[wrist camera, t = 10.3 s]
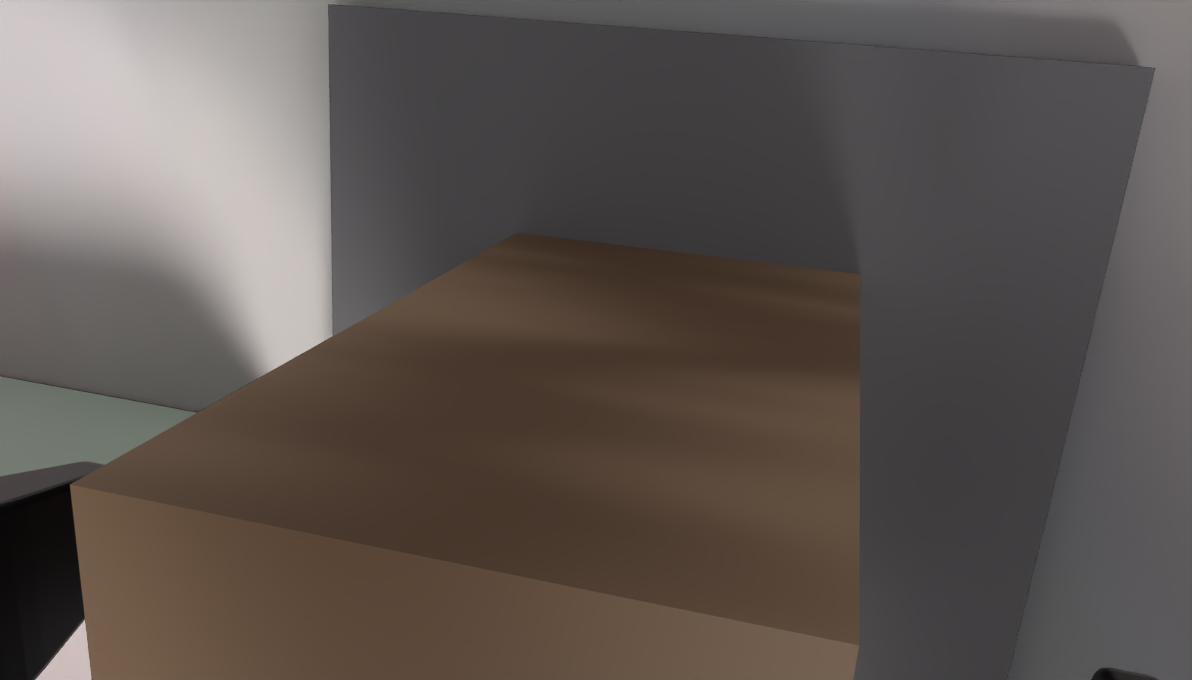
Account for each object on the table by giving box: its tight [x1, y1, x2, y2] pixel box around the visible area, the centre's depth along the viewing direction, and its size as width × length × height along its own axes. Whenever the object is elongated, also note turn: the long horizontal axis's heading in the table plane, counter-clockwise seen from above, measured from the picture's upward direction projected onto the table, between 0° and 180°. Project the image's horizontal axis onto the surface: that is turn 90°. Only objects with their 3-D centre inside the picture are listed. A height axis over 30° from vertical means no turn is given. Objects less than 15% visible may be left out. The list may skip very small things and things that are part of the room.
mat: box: [328, 4, 1155, 680], centre depth 14 cm, size 10×10×1 cm
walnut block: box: [70, 233, 860, 680], centre depth 10 cm, size 4×4×8 cm
